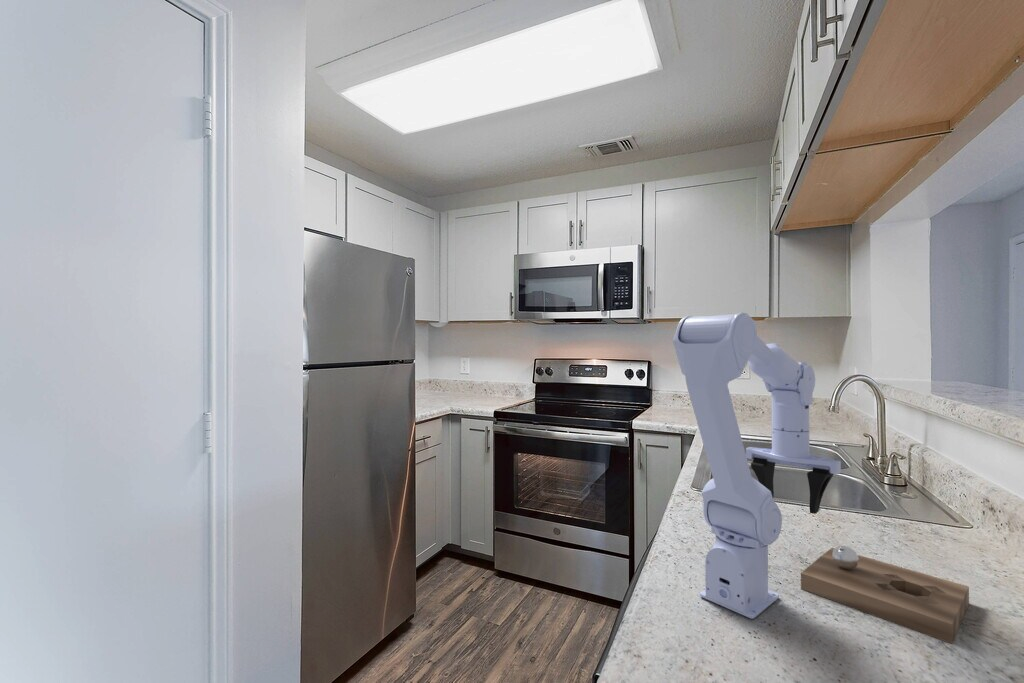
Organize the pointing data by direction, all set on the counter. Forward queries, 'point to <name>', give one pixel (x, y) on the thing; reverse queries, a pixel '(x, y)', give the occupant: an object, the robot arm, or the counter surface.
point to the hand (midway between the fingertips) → (790, 506)
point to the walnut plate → (891, 594)
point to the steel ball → (845, 557)
